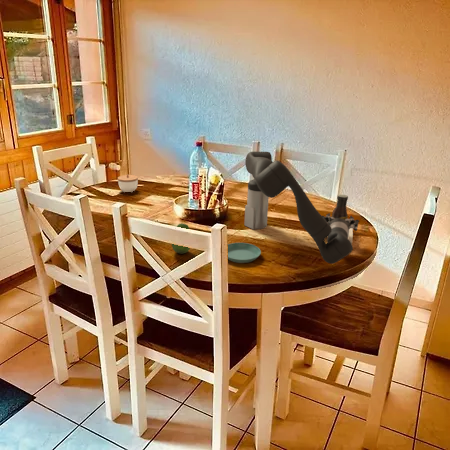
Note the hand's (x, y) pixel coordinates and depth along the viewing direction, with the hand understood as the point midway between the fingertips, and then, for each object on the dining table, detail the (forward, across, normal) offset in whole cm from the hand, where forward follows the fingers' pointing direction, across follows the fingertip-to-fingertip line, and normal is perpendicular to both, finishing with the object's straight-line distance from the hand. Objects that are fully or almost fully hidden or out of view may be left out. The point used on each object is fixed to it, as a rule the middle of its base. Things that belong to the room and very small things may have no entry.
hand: (339, 216), depth 169 cm
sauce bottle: (-1, 0, -11) cm, 11 cm away
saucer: (-26, -34, -11) cm, 45 cm away
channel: (+5, 0, -11) cm, 12 cm away
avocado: (-31, -56, -11) cm, 65 cm away
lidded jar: (+33, -113, -11) cm, 119 cm away
